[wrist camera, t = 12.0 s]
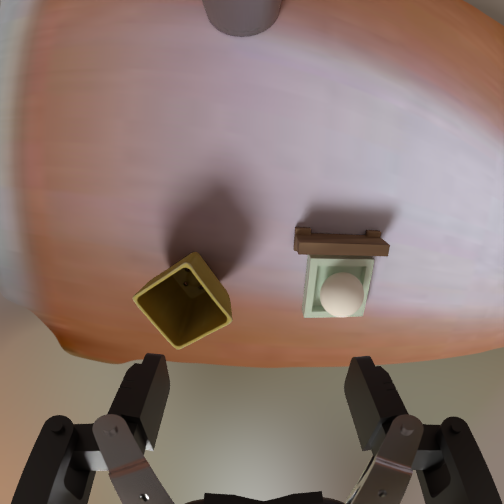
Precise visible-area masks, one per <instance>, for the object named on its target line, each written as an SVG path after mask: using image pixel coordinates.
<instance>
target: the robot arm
mask: <svg viewBox="0 0 504 504" xmlns="http://www.w3.org/2000/svg"><path fill="white" fill-rule="evenodd" d="M202 2H203V5H204V8H205V10H206V13H207V16H208V18H209V20H210V22H211V24H212V25H213V26H214V27H215V28H216V29H218V30H219V31H221V32H223V33H225V34H228V35H232V36H240V37H244V36H252V35H256V34H259V33H261V32H264V31H265V30H267V29H268V28H270V27H271V26H272V25H273V24H274V22H275V21H276V19H277V17H278V13H279V9H280V5H281V2H282V0H202ZM169 390H170V380H169V374H168V370H167V365H166V359H165V356H164V355H161V354H151V353H147V354H146V355H145V357H144V360H143V362H142V364H137V363H135V364H134V365H133V366H132V367H130V368H129V369H128V371H127V372H126V374H125V376H124V378H123V381H122V383H121V385H120V388H119V389H118V392H117V394H116V396H115V398H114V401H113V403H112V405H111V407H110V410H109V412H108V414H107V415H103V416H101V417H99V418H98V419H97V420H96V421H95V422H94V423H93V424H73V423H72V421H71V420H70V419H69V418H67V417H66V416H62V415H57V416H53V417H51V418H49V419H48V420H47V421H46V422H45V424H44V425H43V427H42V429H41V432H40V434H39V436H38V438H37V440H36V442H35V445H34V447H33V449H32V451H31V454H30V456H29V458H28V461H27V463H26V466H25V468H24V470H23V473H22V475H21V478H20V480H19V483H18V486H17V488H16V491H15V494H14V496H13V499H12V502H11V504H87V503H88V499H89V495H90V492H91V488H92V484H93V480H94V477H95V473H96V471H106V470H107V471H108V470H109V477H110V479H111V482H112V484H113V486H114V488H115V490H116V492H117V494H118V496H119V498H120V500H121V502H122V504H174V502H173V501H172V499H171V498H170V496H169V495H168V493H167V492H166V490H165V489H164V487H163V486H162V484H161V483H160V481H159V480H158V478H157V476H156V475H155V473H154V472H153V470H152V468H151V467H150V465H149V463H148V462H147V460H146V459H145V457H144V452H145V450H151V451H153V450H154V447H155V442H156V439H157V435H158V431H159V428H160V424H161V420H162V417H163V413H164V409H165V406H166V402H167V398H168V394H169ZM344 391H345V395H346V399H347V402H348V405H349V409H350V412H351V415H352V418H353V421H354V424H355V428H356V431H357V434H358V438H359V440H360V444H361V448H362V451H366V450H372V453H373V455H372V457H371V459H370V461H369V463H368V464H367V466H366V468H365V470H364V472H363V474H362V475H361V477H360V479H359V481H358V482H357V484H356V486H355V487H354V489H353V491H352V492H351V494H350V495H349V497H348V498H347V500H346V501H345V503H343V502H340V501H338V500H334V499H331V498H324V497H323V496H322V491H319V492H309V493H298V494H291V495H288V496H284V497H280V498H277V499H272V500H268V501H259V500H254V499H249V498H245V497H241V496H236V495H227V494H211V493H205V494H204V499H200V500H196V501H191V502H188V503H185V504H400V503H401V500H402V498H403V496H404V493H405V491H406V489H407V486H408V484H409V481H410V479H411V476H412V473H413V470H416V473H417V476H418V479H419V482H420V486H421V489H422V493H423V496H424V500H425V503H426V504H502V501H501V499H500V496H499V493H498V491H497V488H496V486H495V483H494V481H493V479H492V476H491V474H490V472H489V469H488V467H487V465H486V462H485V460H484V458H483V456H482V453H481V451H480V449H479V447H478V445H477V443H476V441H475V439H474V437H473V435H472V433H471V431H470V429H469V427H468V425H467V423H466V422H465V421H464V420H463V419H461V418H458V417H449V418H446V419H445V420H444V421H443V422H442V424H441V425H426V424H422V422H421V421H420V420H419V419H418V418H416V417H415V416H412V415H409V414H408V412H407V410H406V408H405V406H404V404H403V402H402V400H401V398H400V396H399V394H398V392H397V390H396V388H395V386H394V384H393V383H392V380H391V378H390V376H389V374H388V373H387V372H386V371H385V370H384V369H383V368H382V367H381V366H376V367H375V365H374V363H373V361H372V359H371V357H370V356H362V357H353V358H352V360H351V363H350V366H349V370H348V373H347V376H346V380H345V385H344Z"/></svg>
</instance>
